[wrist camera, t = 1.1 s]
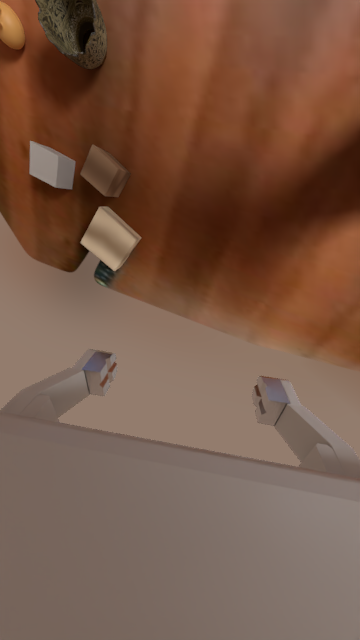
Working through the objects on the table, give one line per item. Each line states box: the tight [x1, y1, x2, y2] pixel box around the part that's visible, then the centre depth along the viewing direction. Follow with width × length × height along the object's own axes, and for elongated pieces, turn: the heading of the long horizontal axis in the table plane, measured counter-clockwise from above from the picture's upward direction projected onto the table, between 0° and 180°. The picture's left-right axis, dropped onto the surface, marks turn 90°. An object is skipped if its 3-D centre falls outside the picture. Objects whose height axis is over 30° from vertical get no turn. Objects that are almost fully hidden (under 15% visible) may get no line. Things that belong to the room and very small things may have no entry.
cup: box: [35, 0, 107, 69], centre depth 27 cm, size 8×7×8 cm
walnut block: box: [80, 144, 131, 197], centre depth 36 cm, size 5×5×6 cm
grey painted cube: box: [29, 141, 76, 189], centre depth 37 cm, size 5×5×5 cm
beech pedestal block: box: [80, 207, 142, 271], centre depth 43 cm, size 9×9×4 cm
